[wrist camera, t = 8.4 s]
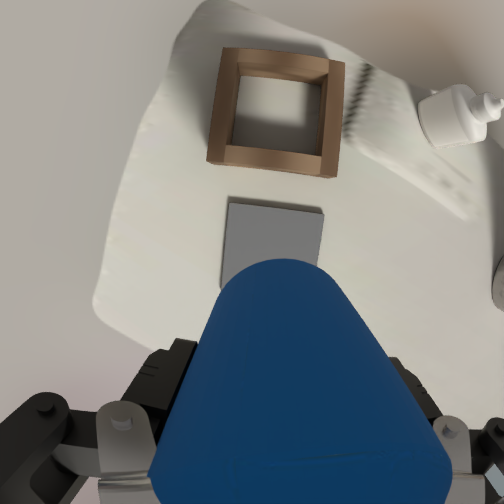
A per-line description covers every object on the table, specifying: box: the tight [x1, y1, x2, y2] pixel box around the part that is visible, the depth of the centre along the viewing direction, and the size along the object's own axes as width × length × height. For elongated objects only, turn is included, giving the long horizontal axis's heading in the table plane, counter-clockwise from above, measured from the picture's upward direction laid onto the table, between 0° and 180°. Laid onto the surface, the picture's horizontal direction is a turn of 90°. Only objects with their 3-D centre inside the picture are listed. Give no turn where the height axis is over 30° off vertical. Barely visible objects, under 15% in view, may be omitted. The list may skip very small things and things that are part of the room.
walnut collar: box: [206, 48, 345, 178], centre depth 23 cm, size 11×11×4 cm
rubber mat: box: [221, 203, 324, 291], centre depth 28 cm, size 9×9×1 cm
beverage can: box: [147, 258, 453, 504], centre depth 8 cm, size 6×6×12 cm
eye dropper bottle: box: [418, 84, 504, 149], centre depth 18 cm, size 4×6×12 cm
